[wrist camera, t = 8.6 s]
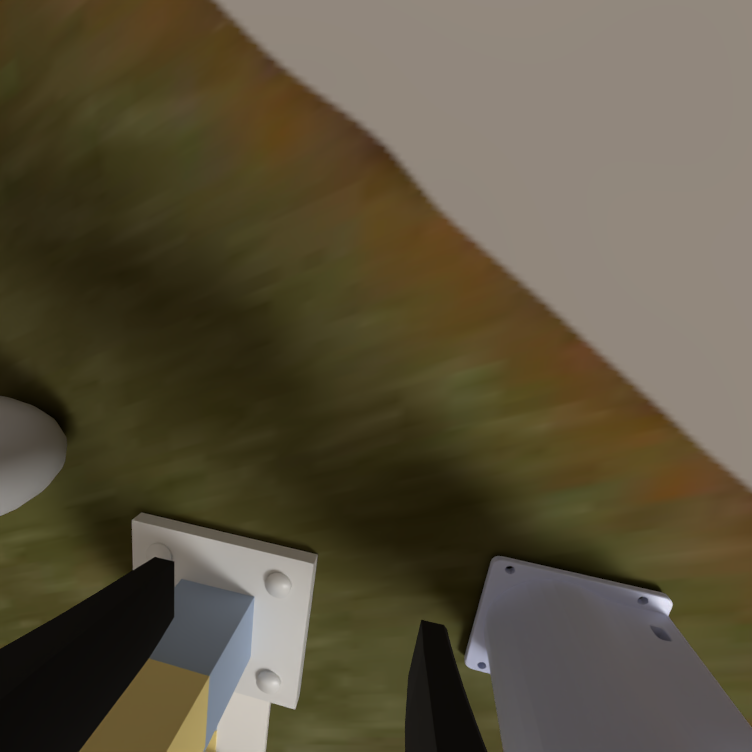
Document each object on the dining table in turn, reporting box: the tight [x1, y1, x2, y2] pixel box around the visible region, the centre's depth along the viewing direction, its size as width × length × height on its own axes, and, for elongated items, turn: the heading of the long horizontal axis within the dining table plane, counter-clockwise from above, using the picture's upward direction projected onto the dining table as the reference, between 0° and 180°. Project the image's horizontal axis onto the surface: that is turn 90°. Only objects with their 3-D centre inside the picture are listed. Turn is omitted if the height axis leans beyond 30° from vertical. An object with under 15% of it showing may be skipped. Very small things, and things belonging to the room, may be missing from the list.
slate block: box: [149, 579, 255, 751], centre depth 21 cm, size 5×5×5 cm
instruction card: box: [203, 692, 271, 752], centre depth 26 cm, size 10×8×1 cm
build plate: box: [132, 512, 318, 709], centre depth 23 cm, size 12×12×1 cm
